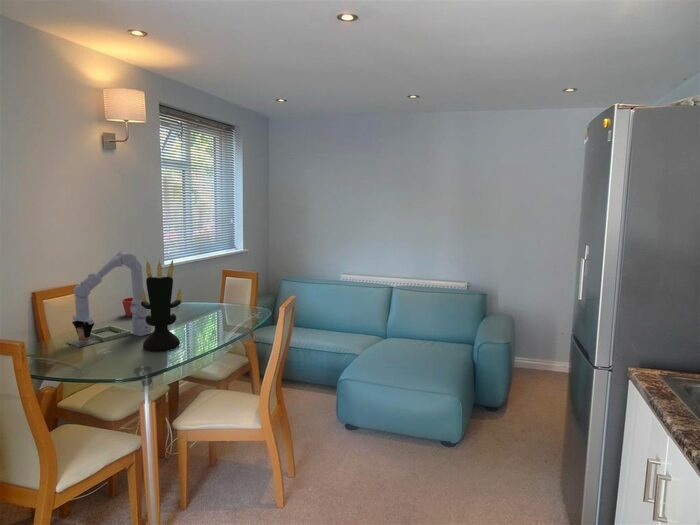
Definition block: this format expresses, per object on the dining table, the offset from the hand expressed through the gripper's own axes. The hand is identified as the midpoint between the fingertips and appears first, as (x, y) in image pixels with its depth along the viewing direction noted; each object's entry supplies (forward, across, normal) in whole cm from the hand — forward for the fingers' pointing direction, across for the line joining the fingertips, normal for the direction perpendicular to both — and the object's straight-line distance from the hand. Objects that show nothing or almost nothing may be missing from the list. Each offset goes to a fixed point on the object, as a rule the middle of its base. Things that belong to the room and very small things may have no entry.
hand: (83, 336), depth 238 cm
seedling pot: (+2, 0, 0) cm, 2 cm away
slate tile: (+3, 0, 0) cm, 3 cm away
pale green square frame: (+3, -3, +14) cm, 15 cm away
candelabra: (+4, +37, +17) cm, 41 cm away
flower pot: (+4, -28, +46) cm, 54 cm away
